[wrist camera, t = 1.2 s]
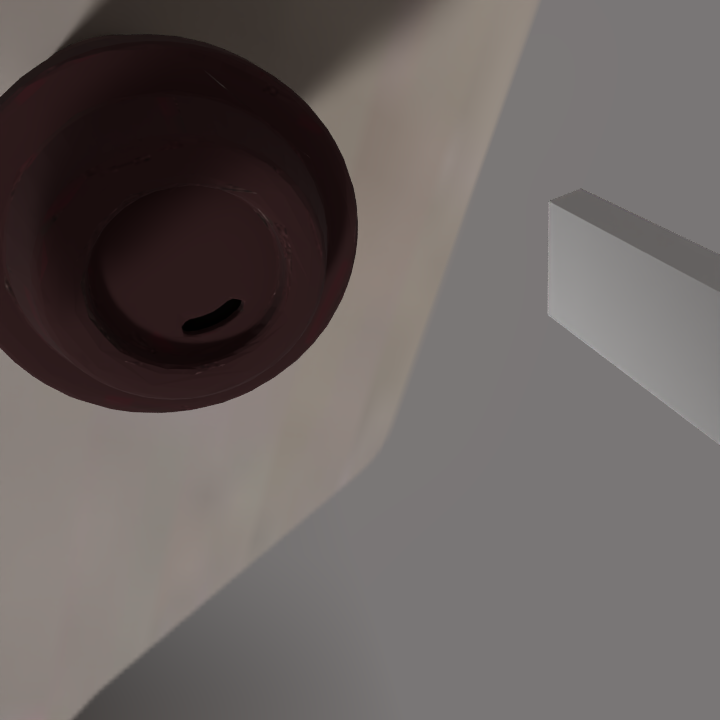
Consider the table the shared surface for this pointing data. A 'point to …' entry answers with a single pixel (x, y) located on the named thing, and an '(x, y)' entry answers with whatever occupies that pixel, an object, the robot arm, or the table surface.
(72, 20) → the table surface
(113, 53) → the coffee cup
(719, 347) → the robot arm
